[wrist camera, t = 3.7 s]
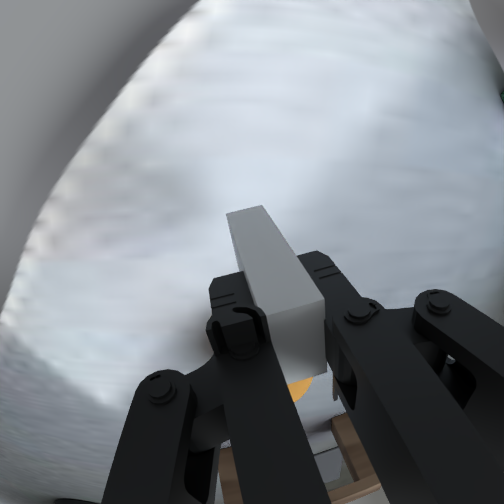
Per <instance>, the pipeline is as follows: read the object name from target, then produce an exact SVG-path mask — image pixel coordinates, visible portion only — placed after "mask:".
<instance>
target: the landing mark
mask: <svg viewBox="0 0 504 504" xmlns="http://www.w3.org/2000/svg"><path fill="white" fill-rule="evenodd" d="M342 457H343V456H342V453H341V451H340V449H339V447H335V448H333V449H330V450H327V451H324V452H321V453H318V454H315V455H314V458H315V461H316V463H317V466H318V469H319V471H320V474H321V477H322V479H323V482H324V483H327V482H330V481H333V480H335V479H338V478H339V477H340V470H341V464H342Z"/></svg>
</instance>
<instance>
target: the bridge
mask: <svg viewBox="0 0 504 504" xmlns="http://www.w3.org/2000/svg"><path fill="white" fill-rule="evenodd" d="M331 431H332V433H333V435H334V438H335V440H336V442H337V444H338V447H339V449H340V451H341V453H342V456H343V458H344V460H345V462H346V465H347V467H348V469H349V471H350V474H351V476H352V478H353V480H354V483H351V484H349V485H346V486H343V487H341V488H338V489H335V490H332V491H330V492H328V495H329V498H330V500H331V503H332V504H345V503H348V502H351V501H353V500H356V499H358V498H361V497H363V496H366V495H368V494H370V493H372V492H375V491H377V490H379V489H380V488H381V486H382V485H381V483H380V481H379V479H378V477H377V475H376V473H375V471H374V468H373V466H372V464H371V462H370V460H369V458H368V456H367V454H366V452H365V449H364V447H363V445H362V443H361V441H360V439H359V437H358V435H357V433H356V431H355V429H354V426H353V424H352V422H351V420H350V418H349V416H348V414H347V413H344V414H342V415H339V416H336V417H334V418H332V427H331ZM218 471H219V477H220V482H221V488H222V493H223V498H224V503H225V504H243V500H242V496H241V491H240V486H239V482H238V477H237V472H236V468H235V463H234V458H233V453H232V448H231V447H229V448H224V449H220V456H219V465H218Z"/></svg>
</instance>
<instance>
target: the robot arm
mask: <svg viewBox="0 0 504 504" xmlns="http://www.w3.org/2000/svg"><path fill="white" fill-rule="evenodd" d="M226 216H227V220H228V225H229V229H230V233H231V238H232V242H233V246H234V251H235V255H236V259H237V263H238V267H239V271H240V272H237V273H233V274H229V275H225V276H221V277H217V278H214V279H213V281H212V283H211V285H210V287H209V295H210V302H211V308H212V316H211V317H210V319H209V320H208V322H207V325H206V333H207V336H208V338H209V341H210V343H211V346H212V349H213V351H214V354H213V356H212V357H211V359H210V360H209V361H208V362H207V363H206V364H205V365H203V366H202V367H200V368H198V369H197V370H195V371H193V372H191V373H189V374H187V375H184V374H182V373H180V372H179V371H176V370H169V369H167V370H161V371H157V372H154V373H152V374H150V375H148V376H147V377H146V378H145V379H144V380H143V381H141V382H140V384H139V386H138V388H137V389H136V391H135V394H134V397H133V400H132V403H131V406H130V409H129V412H128V415H127V418H126V421H125V424H124V428H123V431H122V434H121V437H120V440H119V443H118V447H117V450H116V453H115V456H114V460H113V463H112V467H111V470H110V473H109V477H108V480H107V484H106V488H105V491H104V495H103V498H102V502H101V504H214V501H215V492H216V483H217V474H218V465H219V456H220V447H221V443H223V442H225V441H227V440H229V439H230V443H231V448H232V453H233V458H234V463H235V468H236V472H237V477H238V482H239V486H240V491H241V496H242V500H243V504H332V503H331V500H330V498H329V495H328V492H327V490H326V487H325V485H324V482H323V479H322V477H321V474H320V471H319V469H318V466H317V463H316V461H315V458H314V455H313V453H312V450H311V447H310V445H309V442H308V439H307V437H306V434H305V431H304V429H303V426H302V423H301V421H300V418H299V415H298V413H297V410H296V407H295V404H294V402H293V399H292V396H291V394H290V391H289V388H288V385H287V384H291V383H294V382H297V381H301V380H304V379H307V378H310V377H313V376H316V375H319V374H323V373H326V372H327V362H328V364H329V366H330V368H331V370H332V371H333V399H334V401H336V400H337V399H338V395H339V397H340V399H341V402H342V404H343V406H344V408H345V410H346V412H347V414H348V416H349V418H350V420H351V422H352V424H353V426H354V429H355V431H356V433H357V435H358V437H359V439H360V441H361V443H362V445H363V447H364V449H365V452H366V454H367V456H368V458H369V460H370V462H371V464H372V466H373V468H374V471H375V473H376V475H377V477H378V479H379V481H380V483H381V485H382V488H383V490H384V492H385V494H386V496H387V498H388V500H389V503H390V504H504V472H503V471H504V327H503V326H502V325H500V324H499V323H497V322H496V321H494V320H493V319H491V318H490V317H488V316H487V315H485V314H484V313H482V312H480V311H479V310H477V309H476V308H474V307H473V306H471V305H470V304H468V303H466V302H465V301H463V300H462V299H460V298H458V297H457V296H455V295H454V294H452V293H449V292H447V291H445V290H438V289H433V290H427V291H424V292H422V293H420V294H419V295H418V296H417V297H416V299H415V304H414V307H410V308H401V309H385V308H384V307H383V306H382V305H381V304H379V303H378V302H377V301H375V300H372V299H369V298H364V297H361V296H360V294H359V293H358V292H357V291H356V289H355V288H354V287H353V286H352V285H351V283H350V282H349V281H348V280H347V278H346V277H345V276H344V275H343V273H341V271H340V270H339V269H338V267H337V266H335V264H334V262H333V261H332V260H331V259H330V258H329V256H327V255H325V254H323V253H321V252H319V251H313V252H309V253H305V254H302V255H298V256H296V255H295V253H294V252H293V250H292V249H291V247H290V246H289V244H288V243H287V241H286V240H285V238H284V237H283V235H282V234H281V232H280V231H279V229H278V228H277V226H276V225H275V223H274V222H273V220H272V219H271V217H270V216H269V214H268V213H267V212H266V210H265V209H264V207H263V206H262V205H260V206H256V207H251V208H247V209H243V210H239V211H235V212H231V213H227V214H226ZM448 354H449V355H450V356H451V357H453V358H454V359H455V360H451V359H450V358H448ZM55 504H95V503H90V502H84V501H78V500H68V499H61V500H56V501H55Z"/></svg>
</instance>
